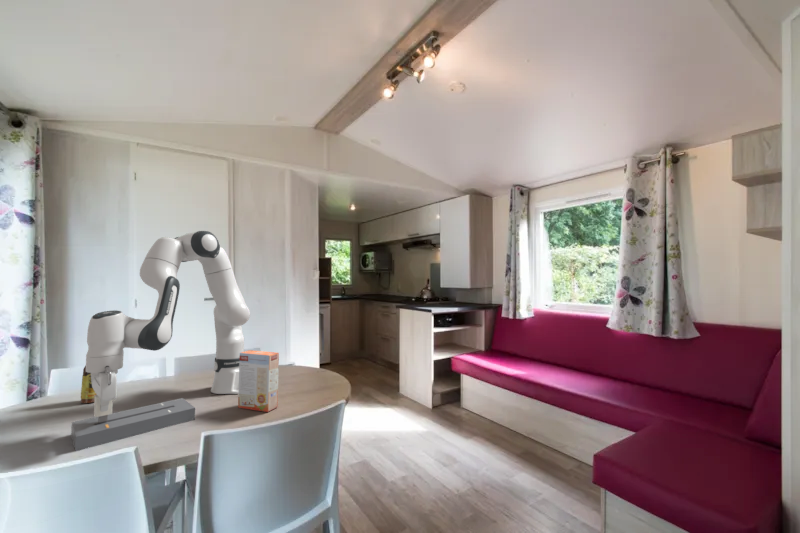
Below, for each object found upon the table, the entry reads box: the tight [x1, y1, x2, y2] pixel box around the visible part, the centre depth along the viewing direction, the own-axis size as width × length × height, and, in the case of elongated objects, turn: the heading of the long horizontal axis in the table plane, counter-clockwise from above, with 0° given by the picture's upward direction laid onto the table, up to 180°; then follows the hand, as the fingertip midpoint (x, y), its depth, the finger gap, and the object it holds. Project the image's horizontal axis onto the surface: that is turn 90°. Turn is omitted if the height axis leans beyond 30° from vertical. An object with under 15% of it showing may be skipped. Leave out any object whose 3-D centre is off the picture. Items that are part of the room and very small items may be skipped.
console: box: [70, 397, 196, 452], centre depth 112 cm, size 30×14×4 cm, turn 138°
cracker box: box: [237, 350, 280, 413], centre depth 130 cm, size 14×6×21 cm, turn 71°
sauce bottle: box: [80, 365, 97, 404], centre depth 134 cm, size 6×6×20 cm
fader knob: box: [93, 395, 114, 422], centre depth 106 cm, size 4×3×8 cm
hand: (102, 408), depth 106 cm, fingers closed on fader knob, 3 cm apart
